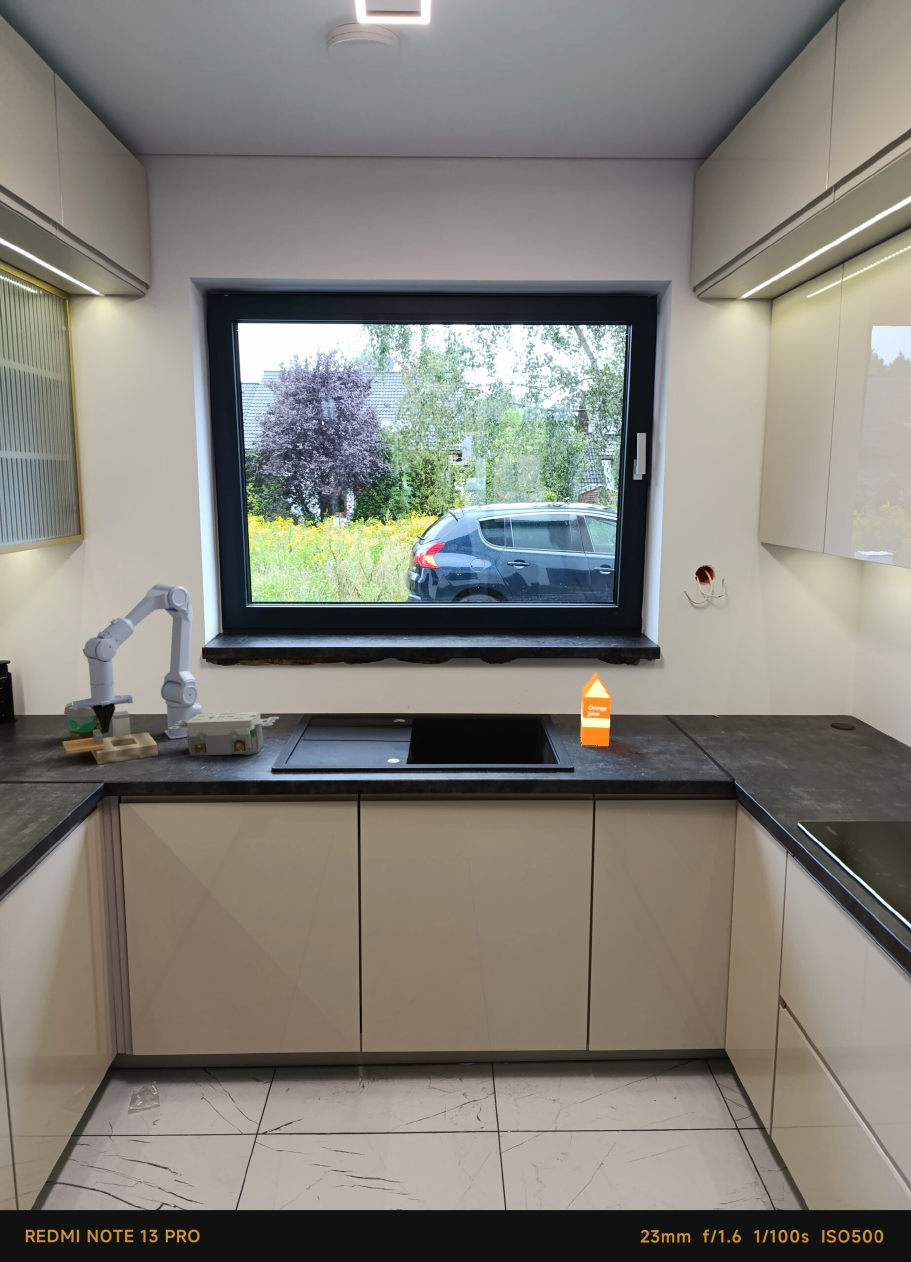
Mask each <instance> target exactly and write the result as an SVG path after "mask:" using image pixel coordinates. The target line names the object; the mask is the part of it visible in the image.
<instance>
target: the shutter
mask: <svg viewBox="0 0 911 1262" xmlns="http://www.w3.org/2000/svg"><path fill="white" fill-rule="evenodd" d="M103 738H104V734H103V735H102V733H101V732H100V730H99V729H98V730H93V738H87V739H79V740H72V741H71V740H67V741H65V740H64V741H62V746H63V748H64V750H65V752H66V754H67V755H68V754H69V755H70V754H76V753H77V754H78V753H84V752H85V753H86V752H91V751H92V750H99V749H104V745H103Z"/></svg>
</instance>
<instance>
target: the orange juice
mask: <svg viewBox="0 0 911 1262" xmlns="http://www.w3.org/2000/svg"><path fill="white" fill-rule="evenodd" d="M611 701H612V698H611V694H610V691H609V690H608V688H607V687H606V686H605V684H604V683H603V681H602V680H601V678H600V676H599V675H598V673H597V672H595V673H594V674H593V676H592V677H590V679H589V680H588V682H587V683H585V686H583V688H582V690H581V706H580V707H581V709H580V710H581V714H580V737H581V738H580V743H581V742H582V744H581V746H582V745H596V746H597V745H598V746H610V744H609V743H610V727H611V704H612V703H611Z"/></svg>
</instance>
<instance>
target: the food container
mask: <svg viewBox="0 0 911 1262" xmlns="http://www.w3.org/2000/svg"><path fill="white" fill-rule="evenodd" d="M102 707H103V706H102ZM63 712H64V713H63V715H65V716H66V719H67V722H68V723H67V725H68V730H69V736H70V741H72V740H79V739H87V738H93V730H98V729H99V730H100V732H101V733H102V729H101V725H100V722H99V720H98V718H97V716H96V714H95V712H94V710H93V709H92V707H91V708H83V709H78V710H74V709H73V701H72V702H69V703H66V705H65V707H64V711H63ZM102 735H103V736H104V733H102Z"/></svg>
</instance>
